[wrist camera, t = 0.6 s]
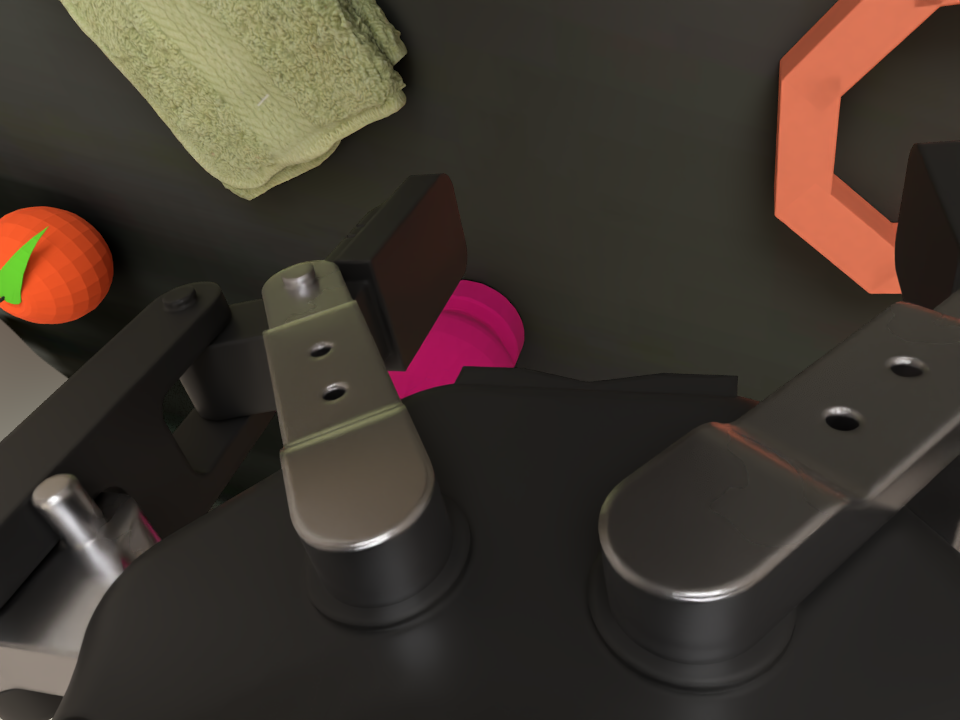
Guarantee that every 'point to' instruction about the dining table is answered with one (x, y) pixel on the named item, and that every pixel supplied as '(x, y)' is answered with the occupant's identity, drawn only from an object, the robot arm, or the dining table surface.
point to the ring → (813, 134)
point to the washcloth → (253, 76)
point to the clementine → (51, 265)
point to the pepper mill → (464, 339)
